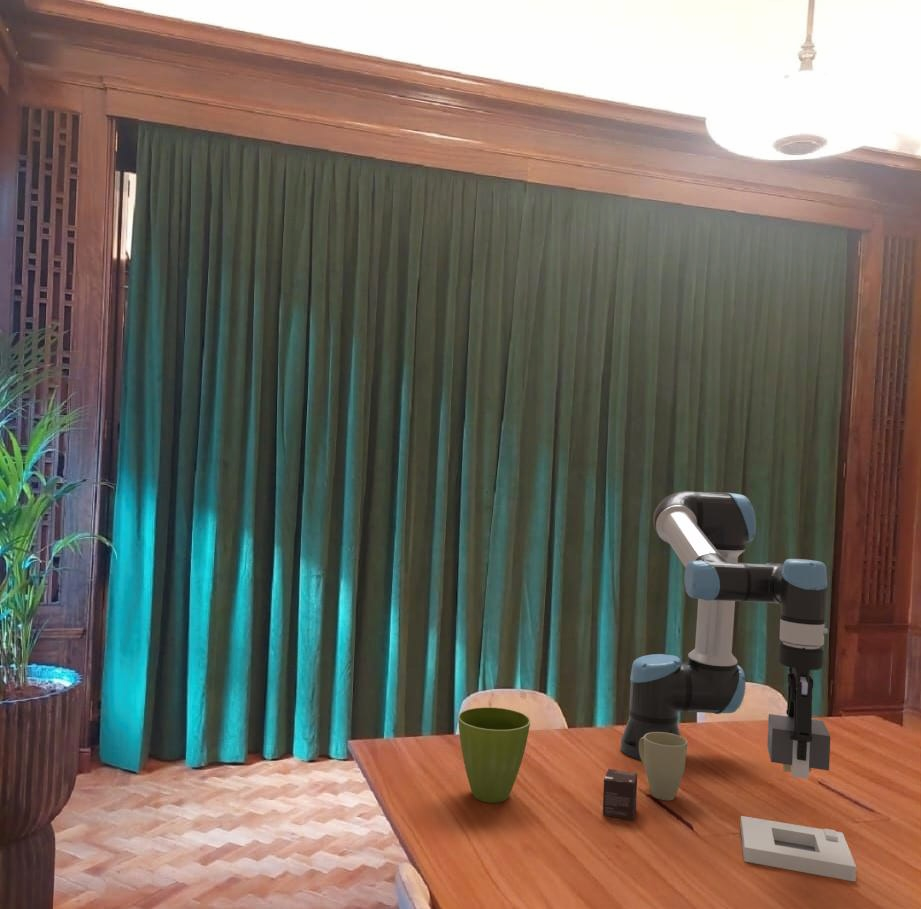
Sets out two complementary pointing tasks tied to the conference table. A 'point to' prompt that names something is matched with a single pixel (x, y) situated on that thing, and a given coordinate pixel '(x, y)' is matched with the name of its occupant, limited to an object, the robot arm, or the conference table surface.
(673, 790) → the mug
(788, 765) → the plug
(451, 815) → the conference table surface
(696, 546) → the robot arm
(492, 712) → the flower pot
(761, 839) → the socket
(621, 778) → the box
